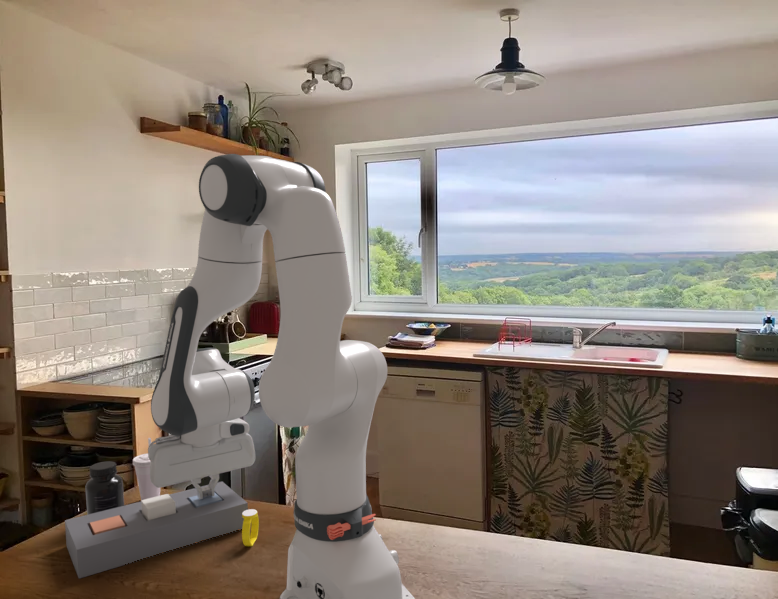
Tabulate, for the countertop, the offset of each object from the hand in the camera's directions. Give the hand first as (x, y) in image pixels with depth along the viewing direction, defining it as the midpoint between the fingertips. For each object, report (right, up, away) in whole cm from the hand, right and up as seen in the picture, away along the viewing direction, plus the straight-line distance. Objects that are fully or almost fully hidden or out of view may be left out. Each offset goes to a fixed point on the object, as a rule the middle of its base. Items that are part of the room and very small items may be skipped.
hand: (206, 497), depth 119 cm
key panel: (-7, -6, -5) cm, 11 cm away
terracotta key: (-15, -6, -10) cm, 19 cm away
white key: (-7, -3, -5) cm, 10 cm away
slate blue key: (0, -5, 0) cm, 5 cm away
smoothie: (-16, -5, +12) cm, 21 cm away
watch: (+11, -6, -8) cm, 15 cm away
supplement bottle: (-21, -6, +2) cm, 22 cm away
